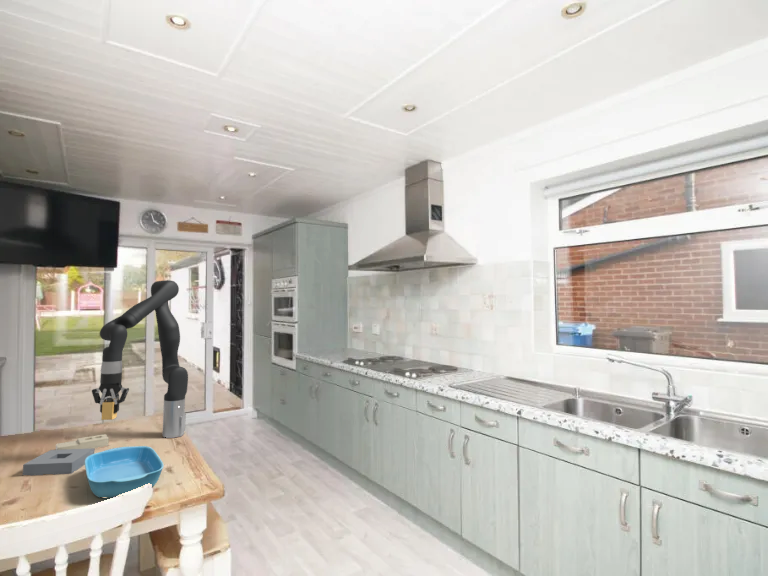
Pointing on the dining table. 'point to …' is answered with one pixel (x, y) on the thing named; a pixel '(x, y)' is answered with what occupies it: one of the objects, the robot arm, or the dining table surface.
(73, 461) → the socket
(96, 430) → the dining table surface
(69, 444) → the electrical outlet
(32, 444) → the dining table surface
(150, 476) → the casserole dish
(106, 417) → the plug
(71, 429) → the dining table surface
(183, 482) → the dining table surface
